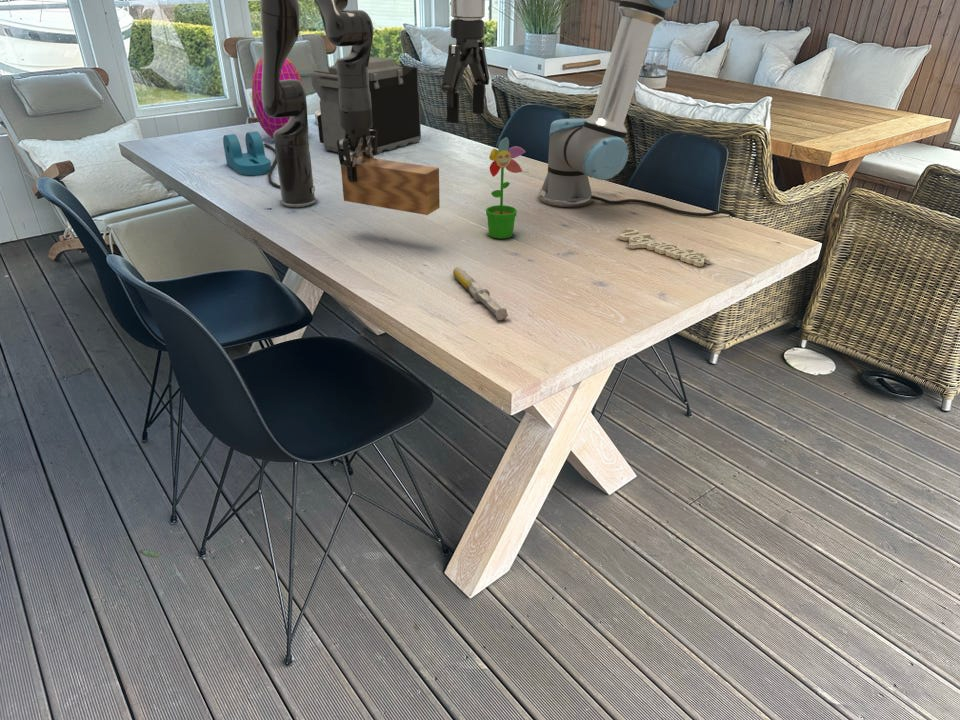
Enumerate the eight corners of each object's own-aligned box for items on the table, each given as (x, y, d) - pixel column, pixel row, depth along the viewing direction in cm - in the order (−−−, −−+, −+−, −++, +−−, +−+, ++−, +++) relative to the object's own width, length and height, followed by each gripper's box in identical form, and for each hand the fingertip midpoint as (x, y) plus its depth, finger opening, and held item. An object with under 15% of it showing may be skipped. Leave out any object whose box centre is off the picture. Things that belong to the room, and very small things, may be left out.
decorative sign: (605, 235, 174) (629, 227, 180) (604, 239, 175) (629, 230, 181) (694, 266, 158) (718, 256, 163) (693, 270, 158) (717, 260, 164)
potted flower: (492, 242, 172) (494, 140, 160) (478, 232, 178) (479, 133, 166) (525, 236, 176) (529, 136, 163) (510, 227, 182) (513, 130, 169)
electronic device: (383, 133, 276) (378, 52, 261) (425, 141, 265) (422, 56, 250) (314, 150, 251) (304, 61, 235) (358, 160, 240) (350, 67, 224)
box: (439, 207, 166) (439, 167, 161) (427, 215, 161) (426, 174, 156) (357, 194, 174) (354, 155, 169) (343, 200, 170) (340, 161, 165)
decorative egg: (293, 132, 276) (283, 50, 261) (319, 140, 264) (310, 56, 249) (249, 139, 265) (236, 54, 250) (273, 148, 253) (261, 60, 238)
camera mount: (227, 164, 233) (221, 132, 227) (257, 160, 238) (252, 129, 233) (244, 176, 220) (239, 143, 215) (276, 172, 225) (271, 139, 220)
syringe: (449, 274, 155) (449, 263, 153) (465, 272, 156) (464, 260, 154) (490, 323, 135) (491, 310, 133) (508, 319, 136) (508, 307, 134)
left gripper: (359, 100, 166) (364, 169, 175) (323, 110, 155) (330, 183, 164) (385, 102, 164) (389, 173, 172) (351, 113, 152) (356, 187, 161)
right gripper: (476, 15, 165) (474, 107, 175) (425, 20, 145) (426, 124, 156) (505, 17, 162) (501, 111, 173) (456, 22, 142) (455, 128, 153)
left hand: (360, 177), depth 168 cm, fingers closed on box, 6 cm apart
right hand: (465, 117), depth 164 cm, fingers open, 13 cm apart
